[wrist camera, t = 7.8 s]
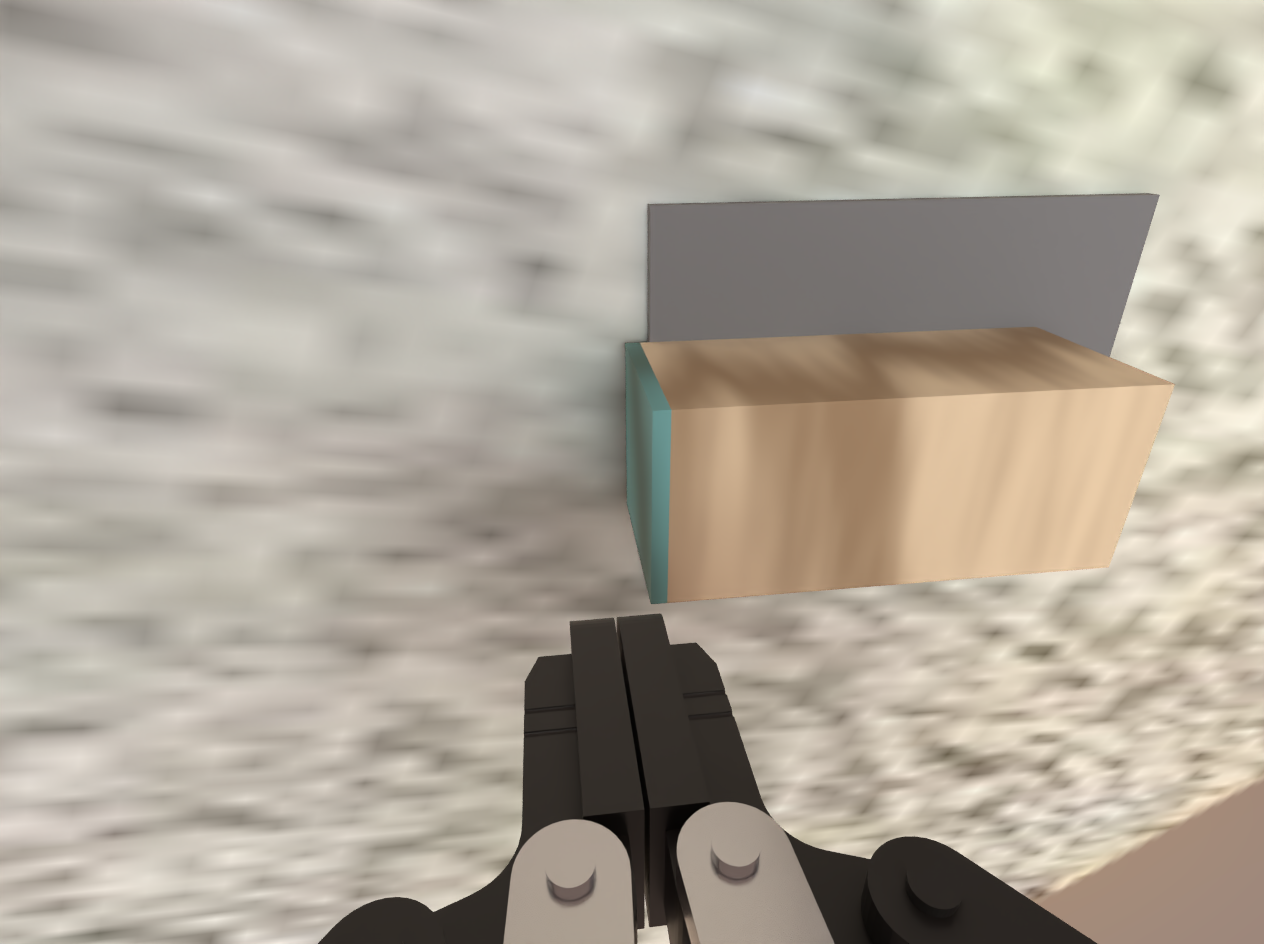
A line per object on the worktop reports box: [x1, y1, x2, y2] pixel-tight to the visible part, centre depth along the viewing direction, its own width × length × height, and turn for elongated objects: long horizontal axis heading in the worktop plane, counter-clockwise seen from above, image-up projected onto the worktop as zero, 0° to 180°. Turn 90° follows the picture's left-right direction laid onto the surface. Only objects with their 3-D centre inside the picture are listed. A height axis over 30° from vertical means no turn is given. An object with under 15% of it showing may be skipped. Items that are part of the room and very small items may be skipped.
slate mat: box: [648, 193, 1159, 357], centre depth 21 cm, size 14×12×1 cm
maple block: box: [625, 327, 1175, 604], centre depth 19 cm, size 5×5×12 cm
